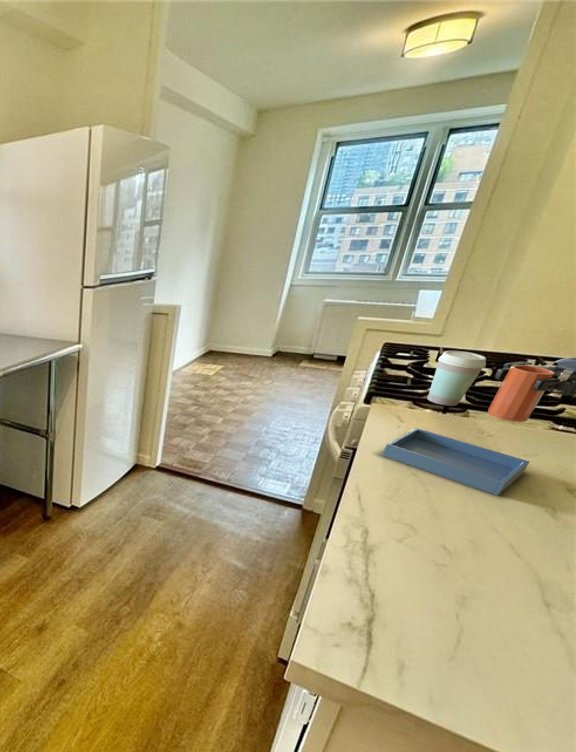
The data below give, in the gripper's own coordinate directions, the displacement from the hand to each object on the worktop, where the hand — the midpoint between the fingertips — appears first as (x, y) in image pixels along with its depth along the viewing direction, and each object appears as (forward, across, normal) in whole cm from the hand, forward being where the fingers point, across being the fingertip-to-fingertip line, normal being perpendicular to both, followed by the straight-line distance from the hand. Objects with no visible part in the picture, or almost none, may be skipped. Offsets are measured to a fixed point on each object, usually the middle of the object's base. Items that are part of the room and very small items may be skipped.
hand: (517, 379), depth 95 cm
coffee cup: (-14, -20, +14) cm, 28 cm away
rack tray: (+17, +7, +14) cm, 23 cm away
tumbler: (-2, 0, +8) cm, 8 cm away
